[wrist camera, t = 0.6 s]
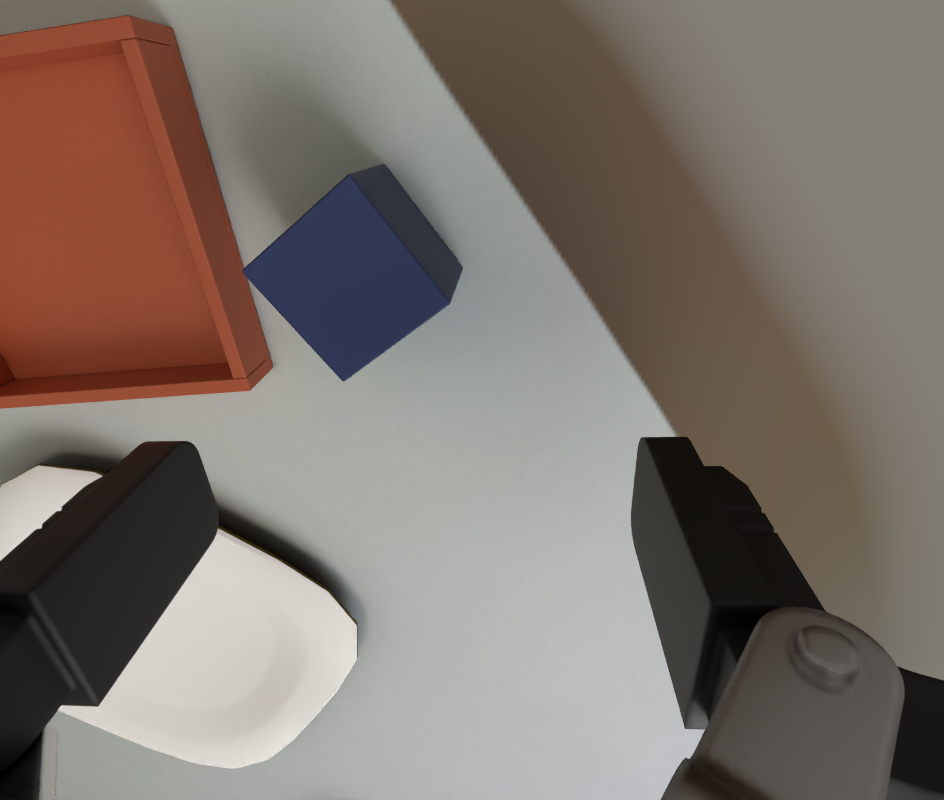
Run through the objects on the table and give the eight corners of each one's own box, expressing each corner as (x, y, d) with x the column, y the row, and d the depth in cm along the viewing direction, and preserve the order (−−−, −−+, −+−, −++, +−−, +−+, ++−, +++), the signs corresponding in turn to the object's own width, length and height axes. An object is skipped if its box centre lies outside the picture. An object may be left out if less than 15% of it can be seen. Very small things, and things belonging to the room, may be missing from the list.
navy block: (294, 242, 22) (240, 271, 18) (384, 162, 21) (348, 173, 16) (374, 335, 24) (343, 382, 20) (464, 268, 22) (451, 303, 18)
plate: (-39, 641, 36) (-63, 664, 35) (33, 407, 27) (4, 423, 26) (258, 767, 40) (248, 793, 39) (405, 601, 31) (399, 625, 30)
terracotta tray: (-148, 76, 21) (-227, 71, 19) (173, 27, 19) (128, 14, 17) (18, 386, 27) (-27, 410, 24) (274, 367, 25) (250, 391, 23)
